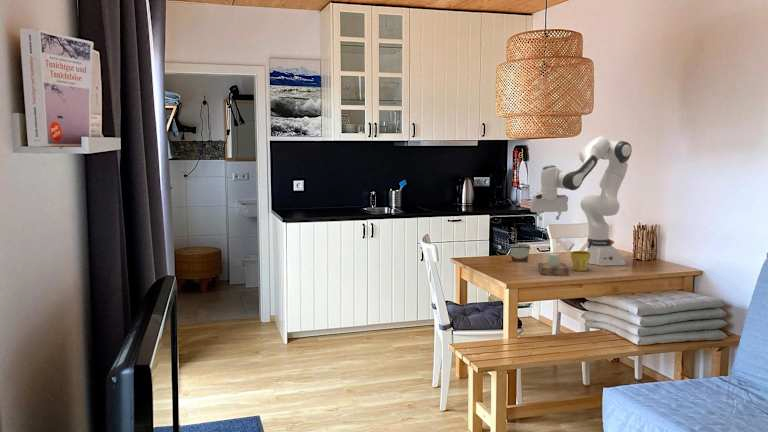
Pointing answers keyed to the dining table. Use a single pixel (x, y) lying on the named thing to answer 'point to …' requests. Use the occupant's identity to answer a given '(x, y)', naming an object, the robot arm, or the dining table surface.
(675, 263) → the dining table surface
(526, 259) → the food container
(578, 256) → the plant pot
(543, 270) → the walnut base
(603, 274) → the dining table surface
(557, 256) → the sage block
